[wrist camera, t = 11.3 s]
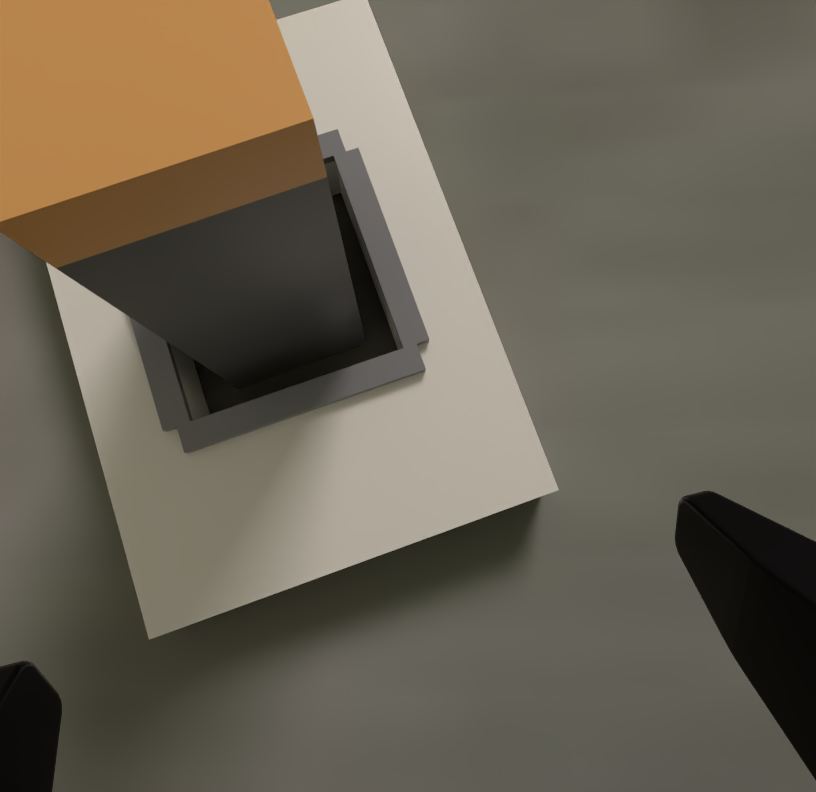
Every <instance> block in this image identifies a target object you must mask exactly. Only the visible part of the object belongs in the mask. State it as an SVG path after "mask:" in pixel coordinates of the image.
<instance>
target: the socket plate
mask: <svg viewBox="0 0 816 792" xmlns="http://www.w3.org/2000/svg"><path fill="white" fill-rule="evenodd" d="M276 21H277V24H278V26H279V29H280V31H281V34H282V37H283V39H284V42H285V45H286V47H287V50H288V53H289V55H290V58H291V60H292V63H293V66H294V68H295V71H296V74H297V76H298V79H299V82H300V84H301V87H302V89H303V92H304V95H305V97H306V100H307V103H308V105H309V108H310V111H311V113H312V116H313V118H314V123H315V127H316V131H317V135H318V140H319V144H320V148H321V152H322V157H323V161H324V165H325V169H326V174H327V178H328V182H329V186H330V191H331V195H332V196H333V195H336V194H339V193H341V194H342V197H343V200H344V202H345V205H346V208H347V211H348V213H349V216H350V219H351V222H352V224H353V227H354V230H355V233H356V235H357V238H358V241H359V244H360V247H361V249H362V252H363V255H364V258H365V260H366V263H367V266H368V269H369V271H370V274H371V277H372V280H373V282H374V285H375V288H376V291H377V294H378V296H379V299H380V302H381V305H382V307H383V310H384V313H385V316H386V318H387V321H388V324H389V327H390V329H391V332H392V335H393V338H394V341H395V343H396V346H397V349H398V350H396V351H393V352H390V353H387V354H384V355H382V356H379V357H376V358H373V359H370V360H367V361H364V362H361V363H358V364H355V365H352V366H350V367H347V368H344V369H341V370H338V371H335V372H332V373H329V374H326V375H323V376H320V377H318V378H315V379H312V380H309V381H306V382H303V383H300V384H297V385H294V386H291V387H288V388H286V389H283V390H280V391H277V392H274V393H271V394H268V395H265V396H262V397H259V398H256V399H254V400H251V401H248V402H245V403H242V404H239V405H236V406H233V407H230V408H227V409H224V410H222V411H219V412H216V413H213V414H210V413H209V409H208V406H207V403H206V399H205V396H204V393H203V390H202V386H201V383H200V380H199V376H198V373H197V370H196V367H195V363H194V360H193V358H191V357H190V356H188V355H187V354H185V353H184V352H182V351H181V350H179V349H177V348H176V347H174V346H173V345H171V344H170V343H168V342H167V341H165V340H164V339H162V338H161V337H159V336H158V335H156V334H155V333H153V332H152V331H150V330H149V329H147V328H146V327H144V326H143V325H141V324H140V323H138V322H137V321H135V320H133V319H132V318H130V317H129V316H127V315H126V314H124V313H123V312H121V311H120V310H118V309H117V308H115V307H114V306H112V305H111V304H109V303H108V302H106V301H105V300H103V299H102V298H100V297H99V296H97V295H96V294H94V293H92V292H91V291H89V290H88V289H86V288H85V287H83V286H82V285H80V284H79V283H77V282H76V281H74V280H73V279H71V278H70V277H68V276H67V275H65V274H64V273H62V272H61V271H59V270H58V269H56V268H55V267H53V266H51V265H50V264H48V263H47V262H46V264H47V267H48V271H49V275H50V278H51V282H52V286H53V289H54V293H55V297H56V300H57V304H58V308H59V311H60V315H61V319H62V322H63V326H64V330H65V333H66V337H67V341H68V344H69V348H70V352H71V355H72V359H73V363H74V366H75V370H76V374H77V377H78V381H79V385H80V388H81V392H82V396H83V399H84V403H85V407H86V410H87V414H88V418H89V421H90V425H91V429H92V432H93V436H94V440H95V443H96V447H97V451H98V454H99V458H100V462H101V465H102V469H103V473H104V476H105V480H106V484H107V487H108V491H109V495H110V498H111V502H112V506H113V509H114V513H115V517H116V520H117V524H118V528H119V531H120V535H121V539H122V542H123V546H124V550H125V553H126V557H127V561H128V565H129V568H130V572H131V576H132V579H133V583H134V587H135V590H136V594H137V598H138V601H139V605H140V609H141V612H142V616H143V620H144V623H145V627H146V631H147V634H148V638H149V640H150V639H153V638H155V637H158V636H161V635H163V634H166V633H169V632H172V631H174V630H177V629H180V628H183V627H185V626H188V625H191V624H194V623H196V622H199V621H202V620H205V619H207V618H210V617H213V616H215V615H218V614H221V613H224V612H226V611H229V610H232V609H235V608H237V607H240V606H243V605H246V604H248V603H251V602H254V601H256V600H259V599H262V598H265V597H267V596H270V595H273V594H276V593H278V592H281V591H284V590H287V589H289V588H292V587H295V586H298V585H300V584H303V583H306V582H308V581H311V580H314V579H317V578H319V577H322V576H325V575H328V574H330V573H333V572H336V571H339V570H341V569H344V568H347V567H349V566H352V565H355V564H358V563H360V562H363V561H366V560H369V559H371V558H374V557H377V556H380V555H382V554H385V553H388V552H391V551H393V550H396V549H399V548H401V547H404V546H407V545H410V544H412V543H415V542H418V541H421V540H423V539H426V538H429V537H432V536H434V535H437V534H440V533H443V532H445V531H448V530H451V529H453V528H456V527H459V526H462V525H464V524H467V523H470V522H473V521H475V520H478V519H481V518H484V517H486V516H489V515H492V514H494V513H497V512H500V511H503V510H505V509H508V508H511V507H514V506H516V505H519V504H522V503H525V502H527V501H530V500H533V499H536V498H538V497H541V496H544V495H546V494H549V493H552V492H555V491H557V490H559V489H558V487H557V484H556V482H555V479H554V477H553V474H552V471H551V469H550V466H549V464H548V461H547V459H546V456H545V454H544V451H543V448H542V446H541V443H540V441H539V438H538V436H537V433H536V431H535V428H534V425H533V423H532V420H531V418H530V415H529V413H528V410H527V407H526V405H525V402H524V400H523V397H522V395H521V392H520V390H519V387H518V384H517V382H516V379H515V377H514V374H513V372H512V369H511V367H510V364H509V361H508V359H507V356H506V354H505V351H504V349H503V346H502V343H501V341H500V338H499V336H498V333H497V331H496V328H495V326H494V323H493V320H492V318H491V315H490V313H489V310H488V308H487V305H486V303H485V300H484V297H483V295H482V292H481V290H480V287H479V285H478V282H477V279H476V277H475V274H474V272H473V269H472V267H471V264H470V262H469V259H468V256H467V254H466V251H465V249H464V246H463V244H462V241H461V239H460V236H459V233H458V231H457V228H456V226H455V223H454V221H453V218H452V215H451V213H450V210H449V208H448V205H447V203H446V200H445V198H444V195H443V192H442V190H441V187H440V185H439V182H438V180H437V177H436V175H435V172H434V169H433V167H432V164H431V162H430V159H429V157H428V154H427V151H426V149H425V146H424V144H423V141H422V139H421V136H420V134H419V131H418V128H417V126H416V123H415V121H414V118H413V116H412V113H411V111H410V108H409V105H408V103H407V100H406V98H405V95H404V93H403V90H402V87H401V85H400V82H399V80H398V77H397V75H396V72H395V70H394V67H393V64H392V62H391V59H390V57H389V54H388V52H387V49H386V47H385V44H384V41H383V39H382V36H381V34H380V31H379V29H378V26H377V23H376V21H375V18H374V16H373V13H372V11H371V8H370V6H369V3H368V0H341V1H337V2H334V3H331V4H327V5H324V6H321V7H318V8H314V9H311V10H308V11H304V12H301V13H298V14H294V15H291V16H288V17H285V18H281V19H278V20H276Z"/></svg>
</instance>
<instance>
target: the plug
mask: <svg viewBox="0 0 816 792" xmlns="http://www.w3.org/2000/svg"><path fill="white" fill-rule="evenodd" d="M0 232H1V233H3V234H4V235H6V236H7V237H9V238H10V239H12V240H14V241H15V242H17V243H18V244H20V245H21V246H23V247H24V248H26V249H27V250H29V251H30V252H32V253H33V254H35V255H36V256H38V257H39V258H41V259H42V260H44V261H45V262H47V263H48V264H50V265H51V266H53V267H55V268H56V269H58V270H59V271H61V272H62V273H64V274H65V275H67V276H68V277H70V278H71V279H73V280H74V281H76V282H77V283H79V284H80V285H82V286H83V287H85V288H86V289H88V290H89V291H91V292H92V293H94V294H96V295H97V296H99V297H100V298H102V299H103V300H105V301H106V302H108V303H109V304H111V305H112V306H114V307H115V308H117V309H118V310H120V311H121V312H123V313H124V314H126V315H127V316H129V317H130V318H132V319H133V320H135V321H137V322H138V323H140V324H141V325H143V326H144V327H146V328H147V329H149V330H150V331H152V332H153V333H155V334H156V335H158V336H159V337H161V338H162V339H164V340H165V341H167V342H168V343H170V344H171V345H173V346H174V347H176V348H177V349H179V350H181V351H182V352H184V353H185V354H187V355H188V356H190V357H191V358H193V359H194V360H196V361H197V362H199V363H200V364H202V365H203V366H205V367H206V368H208V369H209V370H211V371H212V372H214V373H215V374H217V375H218V376H220V377H222V378H223V379H225V380H226V381H228V382H229V383H231V384H232V385H234V386H235V387H237V388H238V389H239V388H242V387H245V386H247V385H250V384H253V383H256V382H259V381H261V380H264V379H267V378H270V377H273V376H275V375H278V374H281V373H284V372H287V371H289V370H292V369H295V368H298V367H301V366H303V365H306V364H309V363H312V362H315V361H317V360H320V359H323V358H326V357H329V356H331V355H334V354H337V353H340V352H343V351H345V350H348V349H351V348H354V347H357V346H359V345H362V344H365V343H366V340H365V335H364V331H363V327H362V323H361V318H360V314H359V310H358V306H357V301H356V297H355V293H354V289H353V284H352V280H351V276H350V272H349V267H348V263H347V259H346V255H345V250H344V246H343V242H342V238H341V233H340V229H339V225H338V221H337V216H336V212H335V208H334V203H333V199H332V195H331V191H330V186H329V182H328V178H327V174H326V169H325V165H324V161H323V157H322V152H321V148H320V144H319V140H318V135H317V131H316V127H315V123H314V118H313V116H312V113H311V111H310V108H309V105H308V103H307V100H306V97H305V95H304V92H303V89H302V87H301V84H300V82H299V79H298V76H297V74H296V71H295V68H294V66H293V63H292V60H291V58H290V55H289V53H288V50H287V47H286V45H285V42H284V39H283V37H282V34H281V31H280V29H279V26H278V24H277V21H276V18H275V16H274V13H273V10H272V8H271V5H270V2H269V0H0Z"/></svg>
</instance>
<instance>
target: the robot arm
mask: <svg viewBox="0 0 816 792" xmlns="http://www.w3.org/2000/svg"><path fill="white" fill-rule="evenodd" d="M675 543H676V547H677V550H678V553H679V555H680V557H681V559H682V561H683V563H684V565H685V567H686V569H687V570H688V572H689V574H690V576H691V578H692V580H693V582H694V584H695V586H696V588H697V589H698V591H699V593H700V595H701V597H702V599H703V601H704V603H705V605H706V606H707V608H708V610H709V612H710V614H711V616H712V618H713V620H714V622H715V624H716V625H717V627H718V629H719V631H720V633H721V635H722V637H723V639H724V640H725V642H726V644H727V646H728V648H729V649H730V651H731V653H732V654H733V656H734V658H735V659H736V661H737V662H738V664H739V666H740V667H741V669H742V670H743V672H744V673H745V675H746V676H747V678H748V679H749V681H750V682H751V684H752V685H753V687H754V688H755V690H756V691H757V693H758V694H759V696H760V697H761V699H762V700H763V702H764V703H765V705H766V706H767V708H768V709H769V711H770V712H771V714H772V715H773V717H774V718H775V720H776V721H777V723H778V724H779V726H780V727H781V729H782V730H783V732H784V733H785V735H786V736H787V738H788V739H789V741H790V742H791V744H792V745H793V747H794V748H795V750H796V751H797V753H798V754H799V756H800V757H801V759H802V760H803V762H804V763H805V765H806V766H807V768H808V769H809V771H810V772H811V774H812V775H813V777H814V778H815V780H816V542H815V541H813V540H811V539H809V538H807V537H805V536H803V535H801V534H799V533H797V532H795V531H793V530H791V529H789V528H787V527H784V526H782V525H780V524H778V523H776V522H774V521H772V520H770V519H768V518H766V517H764V516H762V515H760V514H758V513H756V512H754V511H752V510H750V509H748V508H746V507H744V506H742V505H740V504H738V503H735V502H733V501H731V500H729V499H727V498H725V497H723V496H721V495H719V494H717V493H715V492H711V491H703V492H699V493H695V494H691V495H687V496H684V497H682V498H681V500H680V501H679V505H678V513H677V522H676V531H675ZM61 715H62V704H61V699H60V697H59V694H58V693H57V691H56V690H55V689H54V688H53V686H52V685H51V684H50V683H49V682H48V680H47V679H46V678H45V677H44V676H43V674H42V673H41V672H40V671H39V670H38V668H37V667H36V666H35V665H34V664H33V663H31V662H28V661H21V662H17V663H13V664H9V665H5V666H1V667H0V792H52V788H53V780H54V772H55V764H56V756H57V748H58V739H59V731H60V723H61Z"/></svg>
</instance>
